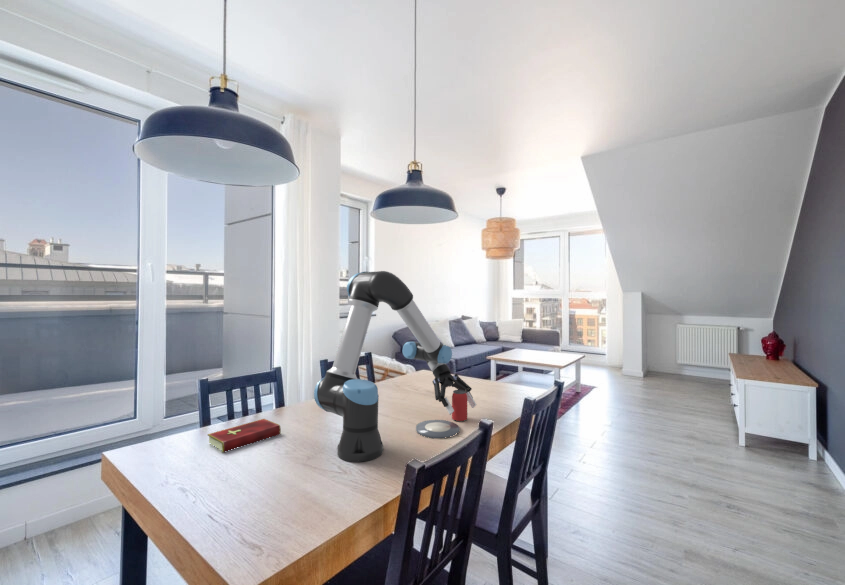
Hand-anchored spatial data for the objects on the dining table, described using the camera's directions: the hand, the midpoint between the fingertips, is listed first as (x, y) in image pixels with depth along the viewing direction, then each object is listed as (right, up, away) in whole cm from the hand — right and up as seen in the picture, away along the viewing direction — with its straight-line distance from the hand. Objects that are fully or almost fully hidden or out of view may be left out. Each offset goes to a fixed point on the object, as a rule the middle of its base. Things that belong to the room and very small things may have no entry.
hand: (463, 409), depth 156 cm
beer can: (-1, -5, +2) cm, 5 cm away
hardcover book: (-82, -5, -21) cm, 85 cm away
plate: (-11, -5, -11) cm, 16 cm away
